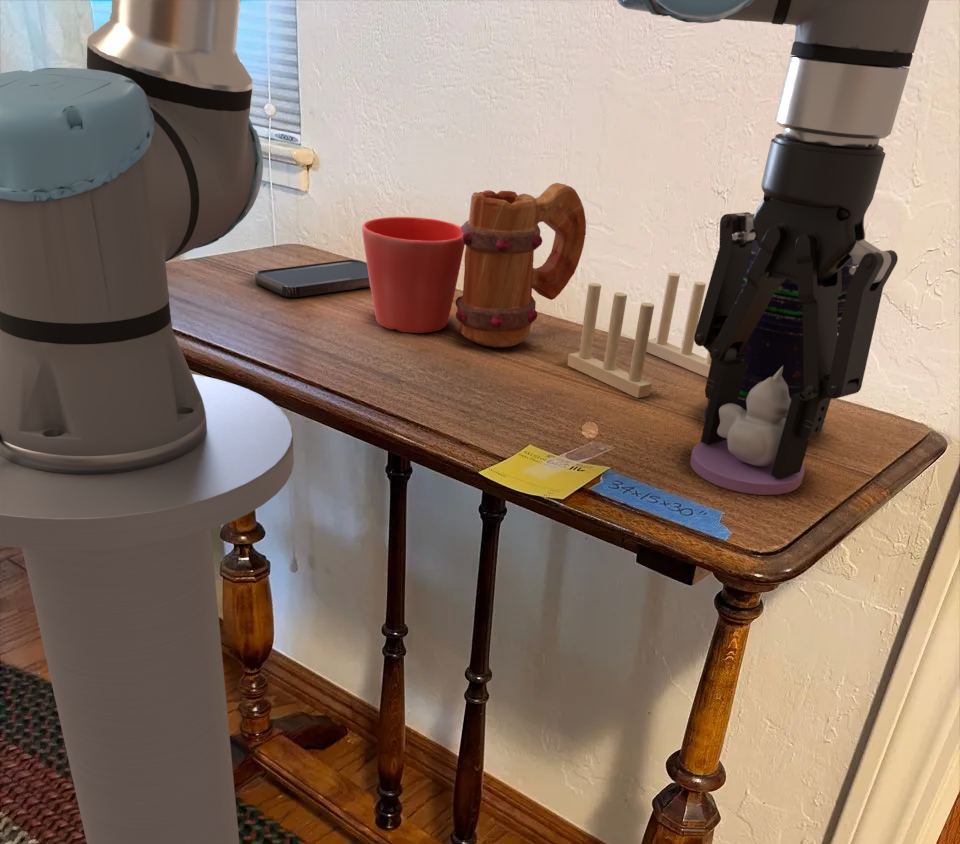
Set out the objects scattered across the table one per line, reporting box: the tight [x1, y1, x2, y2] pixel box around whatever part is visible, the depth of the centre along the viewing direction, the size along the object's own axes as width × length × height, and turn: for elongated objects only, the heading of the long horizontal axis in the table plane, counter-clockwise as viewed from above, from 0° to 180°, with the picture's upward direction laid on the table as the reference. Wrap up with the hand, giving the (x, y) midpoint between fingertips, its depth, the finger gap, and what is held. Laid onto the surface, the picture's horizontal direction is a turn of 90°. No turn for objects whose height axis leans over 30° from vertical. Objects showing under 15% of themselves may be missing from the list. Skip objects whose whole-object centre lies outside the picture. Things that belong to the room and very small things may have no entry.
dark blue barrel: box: [703, 238, 853, 421], centre depth 81 cm, size 10×10×18 cm
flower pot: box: [361, 216, 466, 334], centre depth 101 cm, size 11×11×10 cm
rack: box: [567, 272, 711, 399], centre depth 94 cm, size 13×10×8 cm
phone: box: [254, 259, 371, 298], centre depth 113 cm, size 8×1×15 cm
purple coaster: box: [689, 440, 806, 496], centre depth 78 cm, size 9×9×1 cm
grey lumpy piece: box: [717, 366, 791, 466], centre depth 75 cm, size 5×7×8 cm
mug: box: [455, 182, 587, 349], centre depth 98 cm, size 15×8×15 cm, turn 122°
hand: (749, 456), depth 77 cm, fingers closed on grey lumpy piece, 7 cm apart
